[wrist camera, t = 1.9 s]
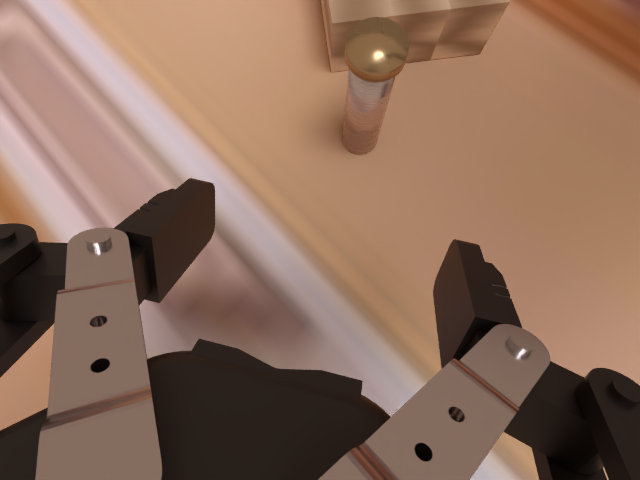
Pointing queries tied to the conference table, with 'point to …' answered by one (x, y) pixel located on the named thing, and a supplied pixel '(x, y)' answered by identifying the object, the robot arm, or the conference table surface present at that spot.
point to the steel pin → (371, 78)
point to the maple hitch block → (416, 25)
